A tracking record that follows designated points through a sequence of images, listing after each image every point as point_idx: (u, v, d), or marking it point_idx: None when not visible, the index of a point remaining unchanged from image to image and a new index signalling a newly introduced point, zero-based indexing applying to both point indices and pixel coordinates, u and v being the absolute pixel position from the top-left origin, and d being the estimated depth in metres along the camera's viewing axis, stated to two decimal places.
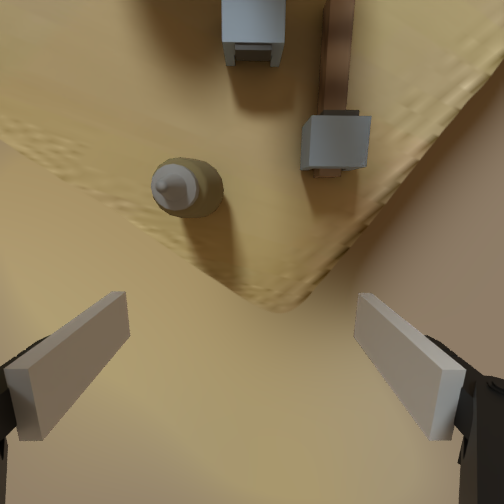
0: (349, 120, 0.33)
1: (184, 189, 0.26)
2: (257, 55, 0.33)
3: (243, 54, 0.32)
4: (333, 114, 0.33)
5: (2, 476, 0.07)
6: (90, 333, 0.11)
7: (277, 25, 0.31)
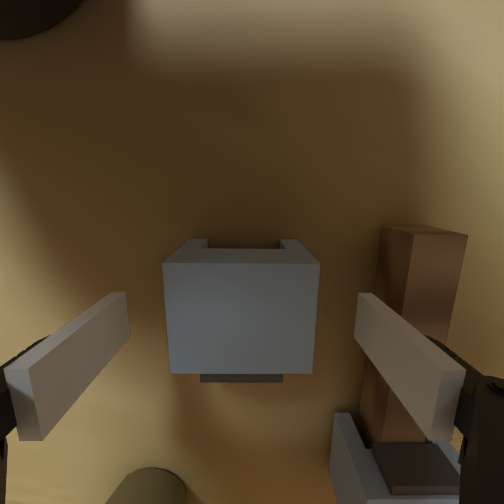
0: None
1: None
2: None
3: None
4: (413, 493, 0.15)
5: (2, 476, 0.07)
6: (90, 333, 0.11)
7: (296, 345, 0.13)
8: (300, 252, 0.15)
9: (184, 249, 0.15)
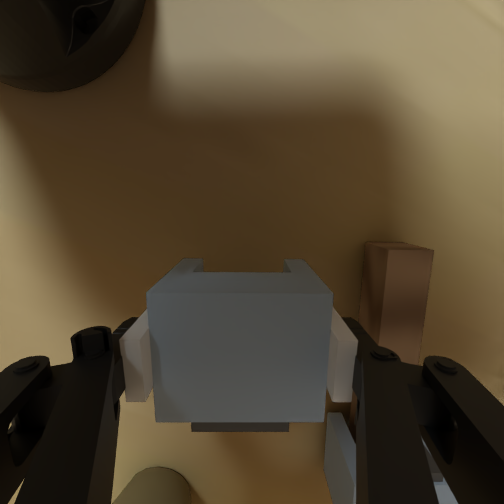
0: None
1: None
2: None
3: None
4: None
5: (115, 435, 0.08)
6: None
7: (304, 388, 0.11)
8: (308, 276, 0.13)
9: (175, 273, 0.13)
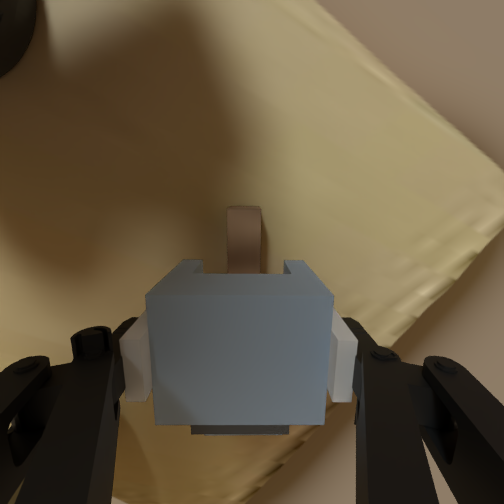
0: None
1: None
2: None
3: None
4: None
5: (114, 435, 0.08)
6: None
7: (305, 390, 0.11)
8: (308, 278, 0.13)
9: (174, 275, 0.13)
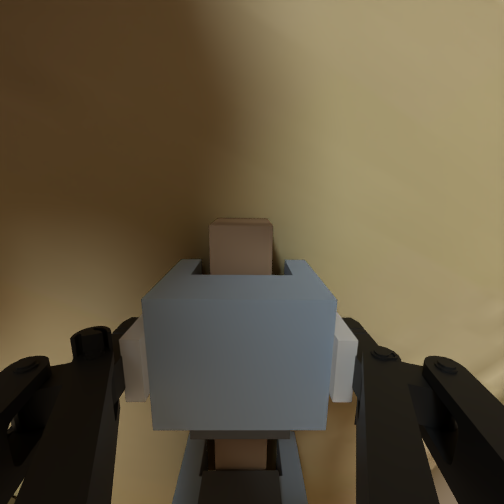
0: None
1: None
2: None
3: None
4: None
5: (114, 435, 0.08)
6: None
7: (306, 396, 0.11)
8: (310, 279, 0.12)
9: (172, 276, 0.12)
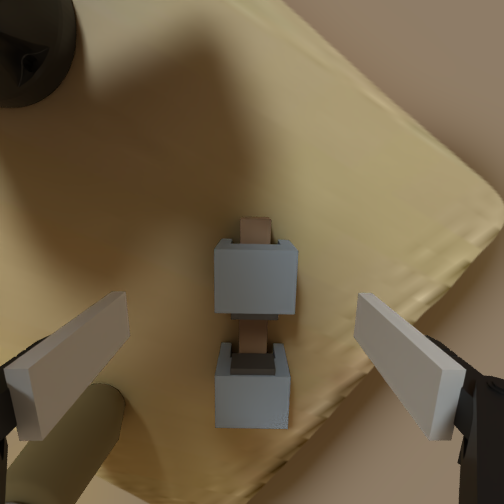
0: (263, 381, 0.26)
1: None
2: None
3: None
4: (243, 373, 0.26)
5: (2, 476, 0.07)
6: (90, 333, 0.11)
7: (285, 296, 0.24)
8: (289, 245, 0.25)
9: (222, 243, 0.26)
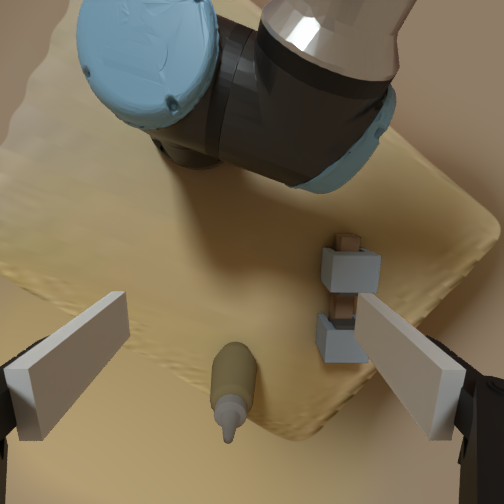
0: None
1: (238, 420, 0.36)
2: None
3: None
4: (343, 328, 0.43)
5: (2, 476, 0.07)
6: (90, 333, 0.11)
7: (372, 282, 0.41)
8: (371, 252, 0.42)
9: (330, 251, 0.43)
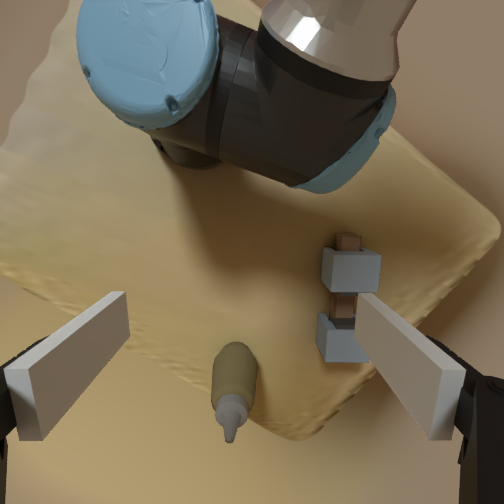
0: None
1: (239, 420, 0.36)
2: None
3: None
4: (344, 328, 0.43)
5: (2, 476, 0.07)
6: (90, 333, 0.11)
7: (372, 282, 0.41)
8: (371, 252, 0.42)
9: (331, 251, 0.43)
